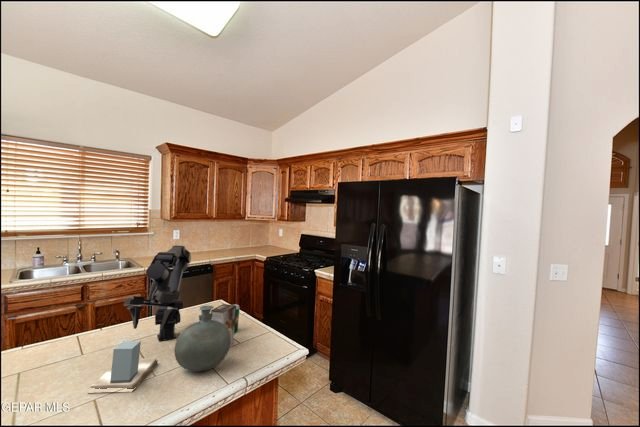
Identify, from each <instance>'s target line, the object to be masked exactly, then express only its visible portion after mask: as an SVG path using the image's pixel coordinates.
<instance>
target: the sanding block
mask: <svg viewBox="0 0 640 427" xmlns="http://www.w3.org/2000/svg"><path fill="white" fill-rule="evenodd" d="M112 352H113V353H112V360H111V361H112V362H111V363H112V364H111V368H112V370H111V380H110V383H129V382H130V381H131V380H132V379H133V378H134V376H135V375H136V374H137V373H138V364H139V359H140V352H141V340H130V341H129V340H128V341H127V340H126V341H125V340H123V341H122V342H120V344H118V345H117V346H115V347H114V348H113V351H112Z"/></svg>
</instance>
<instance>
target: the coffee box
mask: <svg viewBox="0 0 640 427" xmlns="http://www.w3.org/2000/svg"><path fill="white" fill-rule="evenodd" d="M236 305H237V304H228V303H227V304H226V303H222V304H220V305H219V306H217V307H215V308H212V309H211V311H210V313H212V319H211V320H214V321H219V322H221V323H223V324H224V325H225V326H226V327H227V328H228V330H229V333H230V337H231V344H230V346H231V345H232V344H233V343H234V340H235V338H234V337H235V333H234V328H235V314H236Z"/></svg>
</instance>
